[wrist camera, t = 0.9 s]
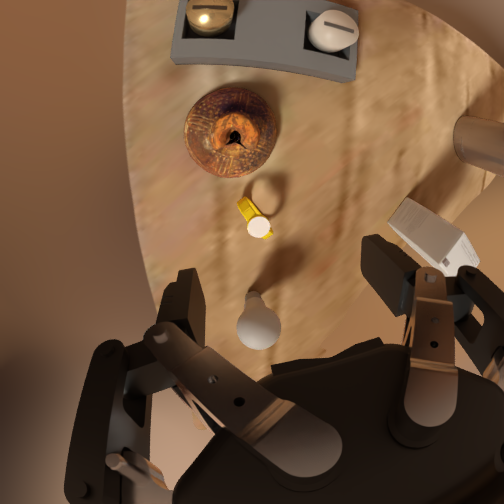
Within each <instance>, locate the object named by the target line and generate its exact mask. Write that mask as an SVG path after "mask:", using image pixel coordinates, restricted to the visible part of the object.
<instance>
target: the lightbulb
mask: <svg viewBox="0 0 504 504" xmlns="http://www.w3.org/2000/svg"><path fill="white" fill-rule="evenodd" d="M280 332H281V323H280V319H279V317H278V316H277V314H276V313H275V312H274V311H272V310H271V309H269V308H268V307H266V306H265V303H264V301H263V300H262V298H261V296H260V294H259V293H258V292H256V291H251V292H249V293H247V294H246V296H245V304H244V312H243V313H242V314H241V316H240V317H239V319H238V322H237V334H238V336H239V339H240V340H241V341H242V343H243V344H245V345H246V346H248V347H249V348H252V349H257V350H261V349H266V348H268V347H270V346H272V345H273V344H274V343H275V342H276V341H277V339H278V338H279V336H280Z"/></svg>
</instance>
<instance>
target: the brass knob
mask: <svg viewBox="0 0 504 504" xmlns="http://www.w3.org/2000/svg"><path fill="white" fill-rule="evenodd" d="M233 12H234V3H233V1H232V0H189V2H188V3H187V5H186V15H187V18H188V21H189V24H190V27H191V29H192V30H193V31H194V32H195V33H196V34H198V35H201V36H205V37H213V36H217V35H220V34H222V33H224V32H225V31H227V30H228V29H229V27H230V26H231V23H232V19H233Z"/></svg>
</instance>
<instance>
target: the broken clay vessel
mask: <svg viewBox="0 0 504 504" xmlns="http://www.w3.org/2000/svg"><path fill="white" fill-rule="evenodd" d="M254 101H255V102H254ZM206 115H207V116H206ZM203 123H204V124H203ZM215 127H216V128H215ZM199 130H200V131H199ZM232 132H234V134H235V137H234V139H232V140H230V139H229V137H230V134H231V133H232ZM238 132H239V133H240V135H241V143H242V145H244V147H245V148H244V147H243V146H241V145H240V144H238V143H235V142H237V140H239V138H240V137H239V134H238ZM276 136H277V128H276V121H275V117H274V114H273V112H272V110H271V108H270V107H269V106H268V105H267V103H266V102H265V101H264V100H263V99H262V98H261V97H260V96H258V95H257V94H255V93H253V92H251V91H249V90H247V89H243V88H238V87H230V88H223V89H219V90H217V91H214V92H212V93H210V94H208V95H206V96H204V97H203V98H201V99H200V100H199V101H198V102H197V103H196V104H195V105H194V106H193V107H192V109H191V110H190V112H189V114H188V116H187V118H186V121H185V126H184V140H185V144H186V147H187V149H188V151H189V154H190V156H191V157H192V159H193V160H194V161H195V162H196V163H197V164H198V165H199V166H200V167H201V168H203V169H204V170H206V171H207V172H209V173H211V174H213V175H216V176H219V177H224V178H233V177H241V176H244V175H247V174H250V173H252V172H254V171H255V170H257V169H258V168H260V167H261V166H262V165H263V164H264V163H265V162H266V160H267V159H268V158H269V156H270V154H271V152H272V150H273V148H274V145H275V142H276ZM256 138H257V139H256ZM193 139H194V140H193ZM264 140H265V141H264ZM247 141H248V142H247ZM266 141H267V142H266ZM227 143H231V144H229V145H226V144H227ZM234 144H235V145H234ZM207 145H208V146H207ZM231 145H232V147H231ZM246 148H247V149H246Z"/></svg>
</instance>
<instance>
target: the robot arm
mask: <svg viewBox="0 0 504 504" xmlns="http://www.w3.org/2000/svg"><path fill="white" fill-rule="evenodd" d="M454 146H455V150H456V153H457V155H458V157H459V158H460V159H461V160H462V161H463V162H465V163H468V164H471V165H474V166H476V167H479V168H482V169H484V170H487V171H490V172H492V173H495V174H497V175H500V176H502V177H504V123H502V122H497V121H492V120H487V119H482V118H477V117H471V116H463V117H461V118H460V119H459V120H458V121H457V123H456V125H455V129H454ZM361 271H362V274H363V276H364V278H365V279H366V280H367V281H368V282H369V284H370V285H371V286H372V287H373V289H374V290H375V291H376V292H377V294H378V295H379V296H380V297H381V299H382V300H383V301H384V302H385V304H386V305H387V306H388V308H389V309H390V310H391V312H392V313H393V314H394V315H395V317H397V316H400V315H403V314H406V319H405V324H404V331H403V337H402V343H401V345H398V344H383V342H382V340H381V339H380V338H379V337H377V338H374V339H371V340H368V341H365V342H361V343H358V344H355V345H353V346H351V347H350V348H348V349H346V350H344V351H343V352H341V353H339V354H337V355H335V356H333V357H330V358H315V359H298V360H293V361H289V362H284V363H279V364H274V365H271V370H272V374H270V375H267V376H266V377H264V378H262V379H260V380H259V381H257V382H255V381H254V380H253V379H251V378H250V377H248V376H247V375H246V374H244V373H243V372H242V371H240V370H239V369H238V368H236V367H235V366H234V365H232V364H231V363H230V362H229V361H227V360H226V359H225V358H223V357H222V356H221V355H220V354H218V353H217V352H216V351H215V350H213V349H212V348H211V347H209V346H206V347H205V315H206V305H205V298H204V294H203V291H202V288H201V284H200V281H199V278H198V274H197V271H196V269H195V268H190V269H184V270H179V272H178V277H177V281H176V282H172V283H169V285H168V286H167V287H166V288H165V289H164V292H163V296H162V300H161V305H160V308H159V312H158V316H157V320H156V324H154V325H152V326H151V327H150V328H148V329H147V330H146V332H145V333H144V335H143V340H142V341H140V342H138V343H135V344H132V345H130V346H126V347H125V346H124V345H123V343H122V342H121V341H119V340H115V339H114V340H107V341H105V342H103V343H101V344H100V345H99V346H98V347H97V348H96V349H95V351H94V353H93V356H92V359H91V362H90V366H89V369H88V372H87V376H86V379H85V382H84V386H83V390H82V393H81V397H80V401H79V405H78V409H77V413H76V418H75V422H74V427H73V431H72V437H71V442H70V447H69V453H68V459H67V466H66V474H65V481H64V493H65V496H66V499H67V500H68V502H69V503H70V504H504V292H503V291H501V290H500V289H499V288H498V287H497V286H496V285H495V284H494V283H493V282H492V281H491V280H490V279H489V278H488V277H487V276H486V275H484V274H483V273H482V272H481V271H480V270H479V269H477V268H475V267H473V266H469V265H463V266H460V267H459V268H458V271H457V275H456V276H448V277H445V275H444V274H443V273H442V272H441V271H440V270H438V269H436V268H433V267H421V266H420V265H419V264H418V263H416V261H414V260H413V259H412V258H411V257H410V256H408V255H407V254H406V253H405V252H403V250H402V249H401V248H399V247H398V246H397V245H395V244H393V243H390V242H387V241H386V240H385V239H384V238H382V237H381V236H380V235H379V234H373V235H368V236H364V237H363V238H362V246H361ZM474 304H475V305H476V306H477V307H478V308H479V309H480V310H481V311H482V312H483V314H484V324H483V326H481V325H480V324H479V322H478V321H477V320H476V319H475V317H474V316H473V315H472V314H471V312H472V310H473V307H474ZM455 338H456V339H457V340H458V342H459V343H460V344H461V346H462V347H463V349H464V350H465V351H466V353H467V354H468V356H469V357H470V359H471V360H472V361H473V363H474V364H475V366H476V367H477V369H478V370H479V372H480V374H481V375H482V377H481V376H479V375H476V374H474V373H471V372H468V371H466V370H464V369H461V368H459V367H456V366H455ZM170 387H171V388H172V390H173V391H174V392H175V393H176V394H177V395H178V396H179V397H180V399H181V400H182V401H183V402H184V403H185V404H186V405H187V406H188V407H189V409H190V410H191V411H192V412H193V413H194V414H195V415H196V416H197V417H198V418H199V420H200V421H201V422H202V423H203V424H204V426H205V427H206V428H207V429H208V430H209V431H210V432H211V433H212V434H213V435H214V436H213V438H212V439H211V440H210V441H209V443H208V444H207V445H206V447H205V448H204V449H203V450H202V452H201V453H200V454H199V456H198V457H197V458H196V459H195V461H194V462H193V463H192V464H191V465H190V467H189V468H188V469H187V470H186V472H185V473H184V474H183V475H182V476H181V478H180V479H179V480H178V482H177V484H176V485H175V488H174V490H173V491H172V490H169V489H168V488H167V486H166V484H165V482H164V476H163V474H162V472H161V471H160V469H159V468H158V467H156V466H155V465H153V464H152V463H151V462H150V426H151V408H152V394H153V393H156V392H159V391H162V390H164V389H167V388H170Z"/></svg>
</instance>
